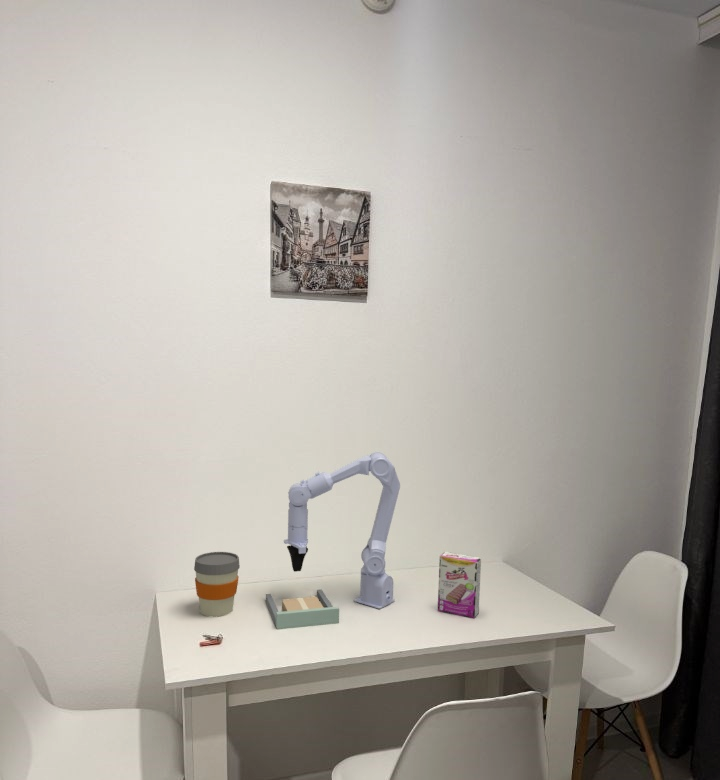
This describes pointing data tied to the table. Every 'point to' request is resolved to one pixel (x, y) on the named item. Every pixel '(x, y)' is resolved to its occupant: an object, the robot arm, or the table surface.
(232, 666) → the table surface
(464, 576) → the candy bar box
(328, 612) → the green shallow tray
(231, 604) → the reusable coffee cup
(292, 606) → the carton
